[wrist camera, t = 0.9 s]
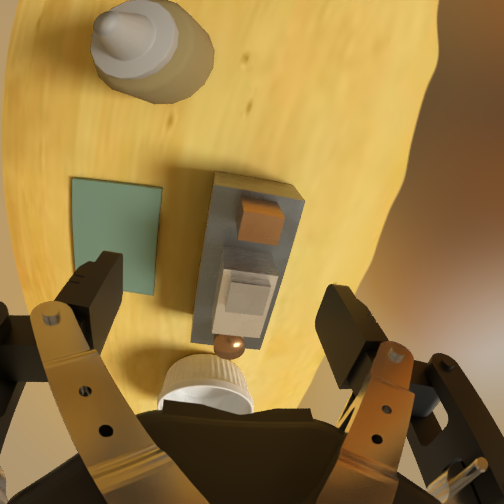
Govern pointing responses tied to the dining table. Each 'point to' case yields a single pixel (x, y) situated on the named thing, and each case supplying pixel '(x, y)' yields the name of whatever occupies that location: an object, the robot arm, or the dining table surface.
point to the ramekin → (207, 384)
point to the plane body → (243, 246)
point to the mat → (118, 227)
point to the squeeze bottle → (151, 51)
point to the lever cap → (243, 292)
